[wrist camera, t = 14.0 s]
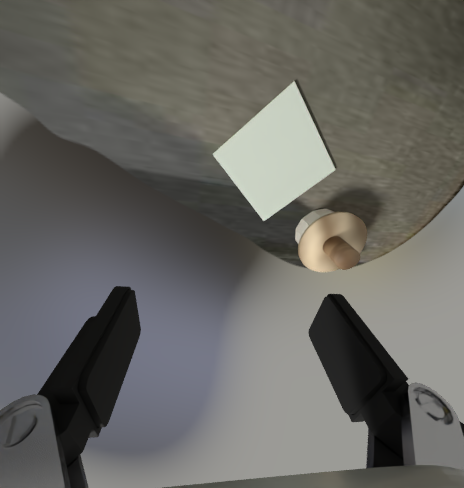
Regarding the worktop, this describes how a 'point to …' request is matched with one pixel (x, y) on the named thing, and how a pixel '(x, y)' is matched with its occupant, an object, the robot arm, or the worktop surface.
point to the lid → (333, 242)
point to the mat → (276, 154)
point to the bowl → (309, 221)
